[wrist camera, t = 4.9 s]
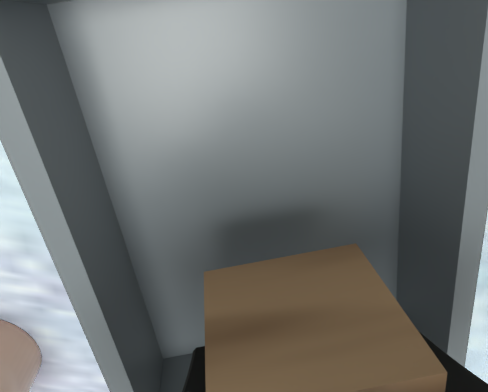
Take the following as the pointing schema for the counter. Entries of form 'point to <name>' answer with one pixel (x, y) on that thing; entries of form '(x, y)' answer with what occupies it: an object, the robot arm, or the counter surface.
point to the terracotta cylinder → (17, 359)
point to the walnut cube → (312, 329)
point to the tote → (245, 155)
